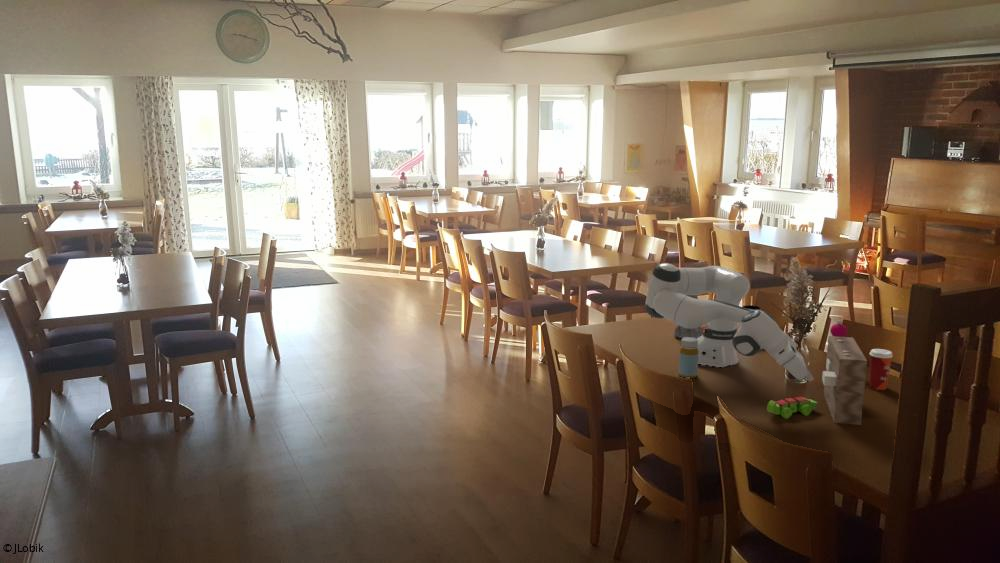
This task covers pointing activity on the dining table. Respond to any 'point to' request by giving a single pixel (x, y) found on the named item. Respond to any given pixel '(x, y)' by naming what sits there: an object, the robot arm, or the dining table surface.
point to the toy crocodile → (791, 406)
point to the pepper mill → (838, 330)
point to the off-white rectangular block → (829, 378)
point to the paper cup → (879, 368)
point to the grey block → (828, 365)
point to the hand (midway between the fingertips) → (811, 379)
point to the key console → (846, 380)
